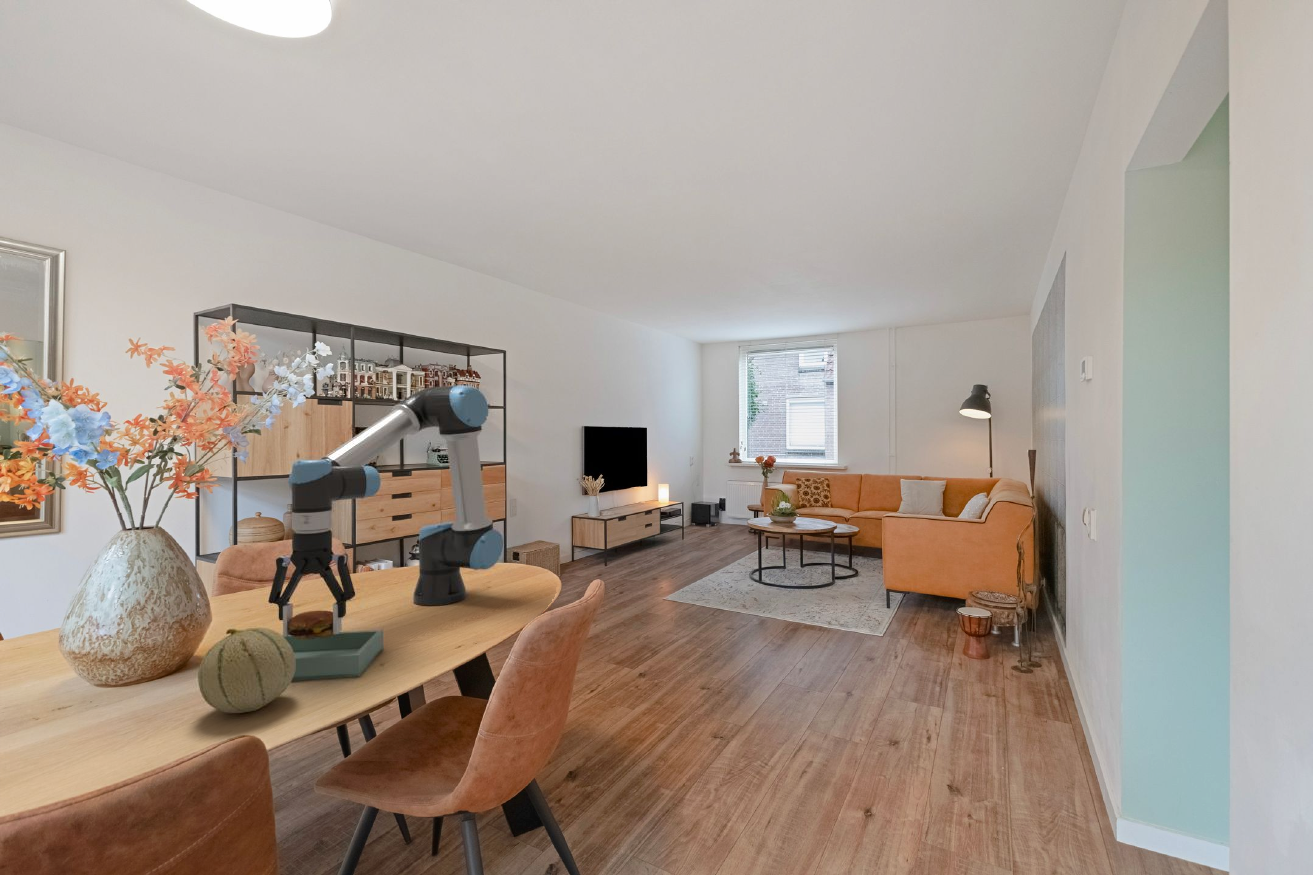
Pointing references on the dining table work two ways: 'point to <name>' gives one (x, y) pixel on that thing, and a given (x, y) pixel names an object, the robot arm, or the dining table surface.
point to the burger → (312, 625)
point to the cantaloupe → (246, 670)
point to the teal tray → (335, 654)
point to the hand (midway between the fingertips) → (312, 633)
